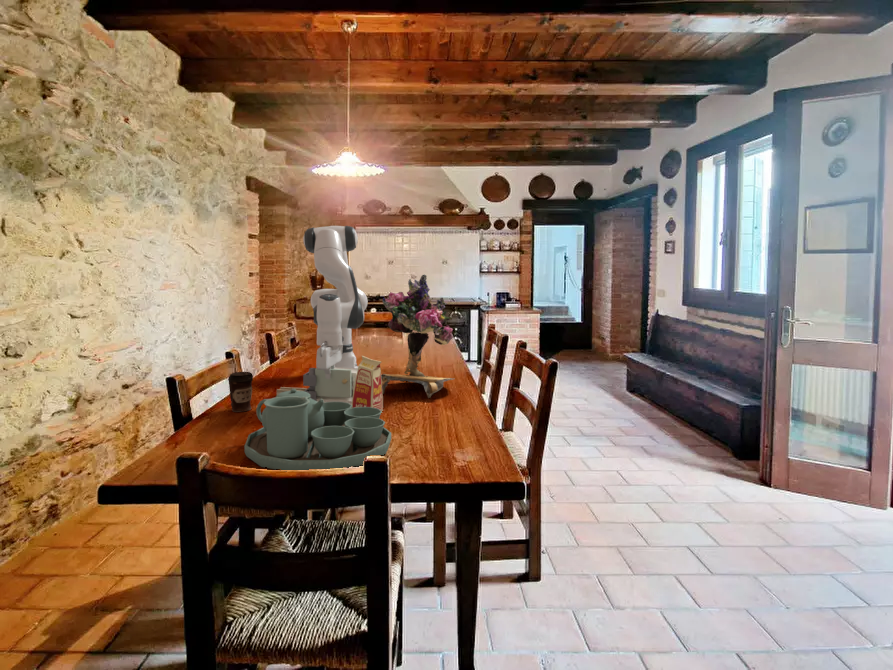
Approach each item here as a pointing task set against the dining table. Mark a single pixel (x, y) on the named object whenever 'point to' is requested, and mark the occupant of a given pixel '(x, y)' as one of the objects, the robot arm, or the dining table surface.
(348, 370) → the door
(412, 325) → the flower vase arrangement
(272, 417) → the tea set
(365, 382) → the milk carton
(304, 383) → the cabinet
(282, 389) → the door rack
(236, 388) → the coffee cup
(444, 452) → the dining table surface
